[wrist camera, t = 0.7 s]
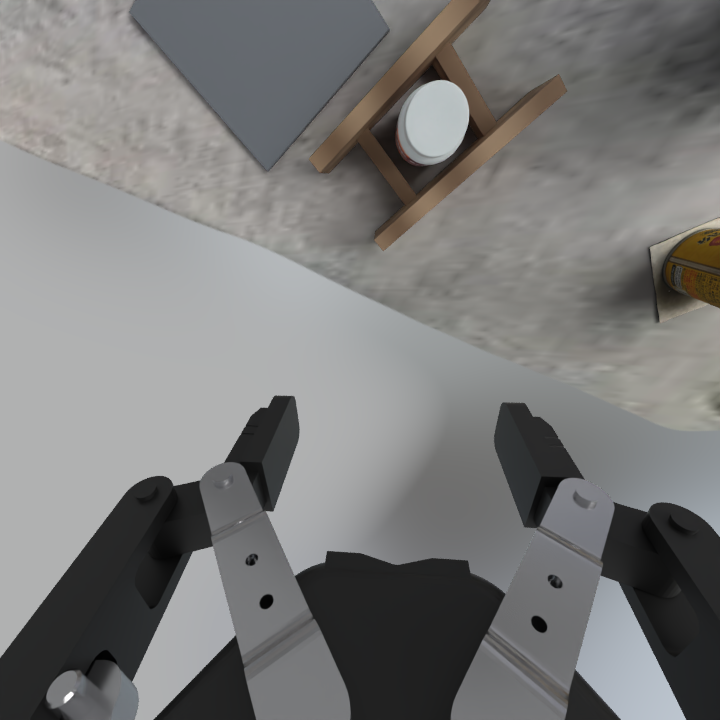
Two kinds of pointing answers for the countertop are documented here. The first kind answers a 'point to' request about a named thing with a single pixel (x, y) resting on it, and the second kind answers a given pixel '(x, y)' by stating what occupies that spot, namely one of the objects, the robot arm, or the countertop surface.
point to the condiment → (687, 271)
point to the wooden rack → (489, 133)
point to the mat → (264, 58)
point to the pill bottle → (432, 123)
